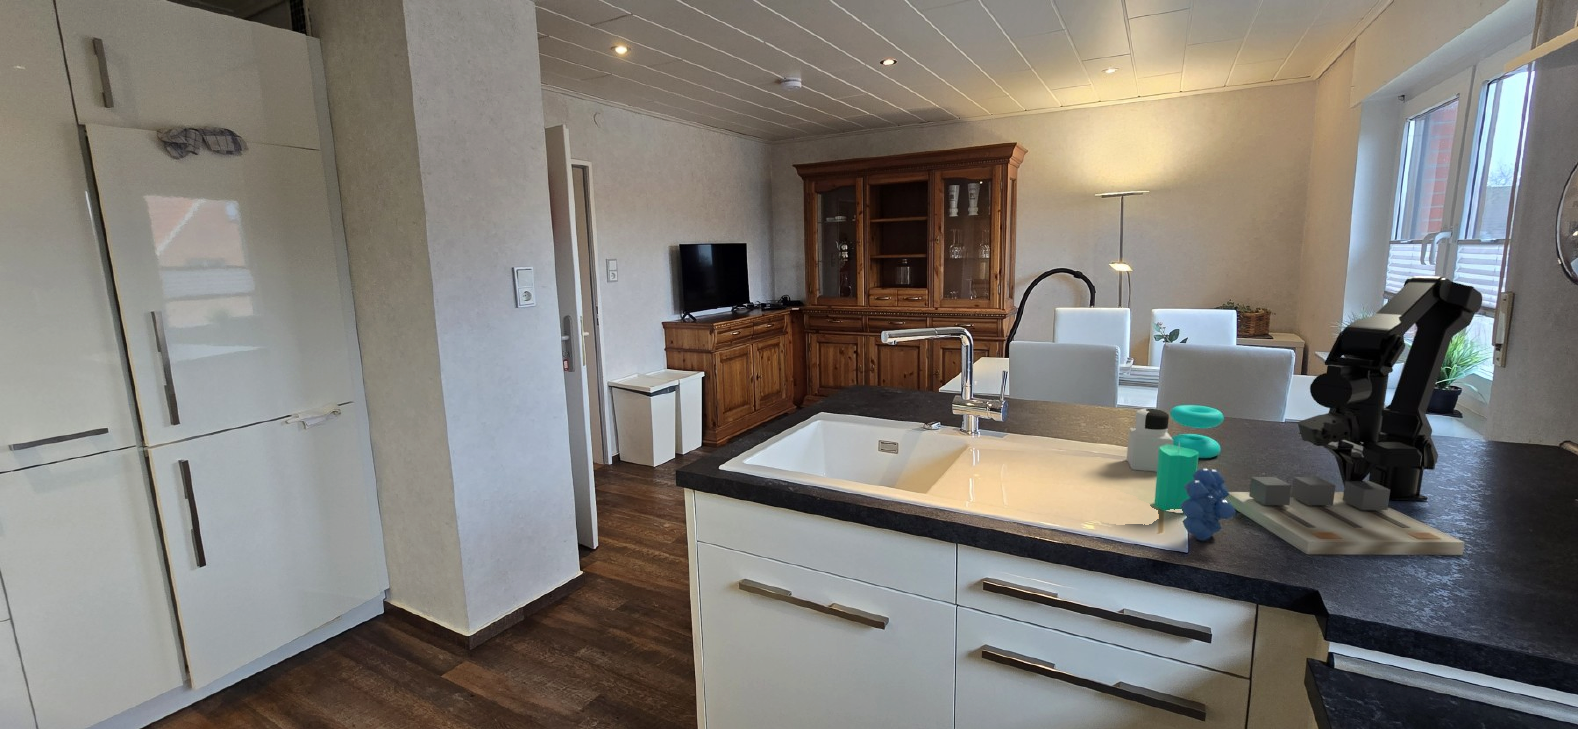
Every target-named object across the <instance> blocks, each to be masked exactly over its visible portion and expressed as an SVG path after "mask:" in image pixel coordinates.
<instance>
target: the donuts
mask: <svg viewBox="0 0 1578 729" xmlns="http://www.w3.org/2000/svg"><path fill="white" fill-rule="evenodd" d="M1169 414H1170V415H1169V417H1170V418H1171V419H1172V420H1173V421H1174V422H1175V423H1177V424H1178V425H1182V426H1185V427H1189V428H1194V429H1196V428H1197V429H1211V428H1215V427H1217V426H1220V425H1221V424H1222V423H1223V422H1224V418H1225V417H1224V415H1223V413H1222V412H1221V410H1218V409H1216V408H1213V407H1209V406H1204V405H1197V404H1182V405H1180V404H1179V405H1176V406H1175V407H1172V408H1171V409H1170V412H1169ZM1171 438H1172V439H1173V445H1174V446H1179V442H1180V447H1183V448H1187V449H1192V450H1196V451H1197V452H1199V456H1198V459H1211V458H1214V457H1216V456H1219V454H1221V448H1222V447H1221V446H1220V444H1219V443H1218V442H1217V441H1216V440H1215V439H1213V438H1211V437H1209V436H1206V435H1202V434H1201V435H1200V434H1195V433H1180V434H1176V435H1173V436H1171Z"/></svg>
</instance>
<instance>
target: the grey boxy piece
mask: <svg viewBox="0 0 1578 729" xmlns="http://www.w3.org/2000/svg"><path fill="white" fill-rule="evenodd" d="M1343 492H1344V494H1343V501H1344V502H1346V503H1348V504H1350V505H1352V506H1354V507H1356V508H1358V509H1361V510H1387V509H1388V507H1389V496H1390V489H1388V488H1385V487H1383V486H1381V485H1378V484H1376V483H1373V482H1371V481H1369V480H1363V481H1345V487H1344V486H1343Z"/></svg>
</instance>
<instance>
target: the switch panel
mask: <svg viewBox="0 0 1578 729" xmlns="http://www.w3.org/2000/svg"><path fill="white" fill-rule="evenodd" d="M1228 493H1229V495H1228V496H1227V497H1226V498H1225V500H1227V501H1229V502H1230V503H1231V504H1232V506H1233V507H1234V509H1235V511H1238V512H1239V513H1241V514H1242V515H1244V516H1245V517H1247V518H1249V519H1251V520H1252V521H1254V522H1255V523H1256V524H1258V525H1260V526H1262V527H1263V528H1265V529H1266V530H1267V531H1269V532H1270V533H1272V534H1274V535H1276V536H1277V537H1279V538H1280V539H1282V540H1284V541H1285V542H1287V543H1288V544H1290V545H1291V546H1292V547H1295V548H1296V549H1298V550H1299V551H1301V552H1303V553H1304V554H1306V555H1367V556H1368V555H1369V556H1371V555H1373V556H1374V555H1378V556H1379V555H1386V556H1387V555H1388V556H1389V555H1391V556H1393V555H1395V556H1396V555H1397V556H1398V555H1399V556H1400V555H1401V556H1404V555H1405V556H1408V555H1409V556H1410V555H1411V556H1412V555H1414V556H1417V555H1418V556H1420V555H1422V556H1429V555H1430V556H1463V554H1464V549H1465V545H1466V542H1465V541H1463V540H1461V539H1459V538H1457V537H1455V536H1452V535H1450V534H1448V533H1446V532H1443V531H1441V530H1439V529H1437V528H1434V527H1432V526H1430V525H1428V524H1426V523H1424V522H1421V521H1419V520H1418V519H1415V518H1413V517H1411V516H1409V515H1406V514H1404V513H1402V512H1400V511H1398V510H1395V509H1393V508H1391V507H1389V506H1388V509H1387V510H1361V509H1358V508H1356V507H1354V506H1352V505H1350V504H1348V503H1346V502H1344V501H1343V494H1344V491H1335V494H1334V501H1333V505H1307V504H1305V503H1303V502H1301V501H1299V500H1297V499H1295V498H1293V497H1292V496H1291V495H1290V503H1289V505H1263V504H1262V503H1260V502H1258V501H1256V500H1255V499H1253V498H1251V497H1250V496H1249V493H1250V491H1228ZM1291 493H1292V491H1291Z"/></svg>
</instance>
